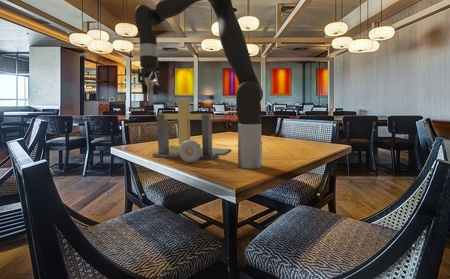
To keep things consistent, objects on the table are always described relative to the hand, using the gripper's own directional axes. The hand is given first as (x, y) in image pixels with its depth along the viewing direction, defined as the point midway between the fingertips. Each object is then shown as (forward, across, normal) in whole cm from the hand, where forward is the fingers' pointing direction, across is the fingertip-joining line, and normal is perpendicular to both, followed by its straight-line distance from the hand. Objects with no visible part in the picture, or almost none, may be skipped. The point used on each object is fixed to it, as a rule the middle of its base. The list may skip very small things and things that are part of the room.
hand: (150, 94), depth 115 cm
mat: (+30, +26, -18) cm, 43 cm away
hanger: (+26, +11, -10) cm, 31 cm away
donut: (+30, -1, -19) cm, 35 cm away
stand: (+30, +11, -10) cm, 33 cm away
